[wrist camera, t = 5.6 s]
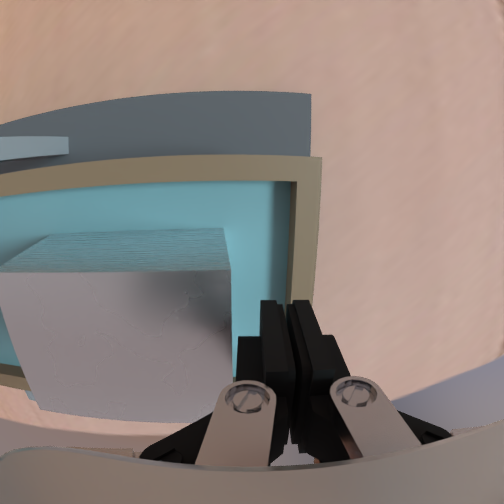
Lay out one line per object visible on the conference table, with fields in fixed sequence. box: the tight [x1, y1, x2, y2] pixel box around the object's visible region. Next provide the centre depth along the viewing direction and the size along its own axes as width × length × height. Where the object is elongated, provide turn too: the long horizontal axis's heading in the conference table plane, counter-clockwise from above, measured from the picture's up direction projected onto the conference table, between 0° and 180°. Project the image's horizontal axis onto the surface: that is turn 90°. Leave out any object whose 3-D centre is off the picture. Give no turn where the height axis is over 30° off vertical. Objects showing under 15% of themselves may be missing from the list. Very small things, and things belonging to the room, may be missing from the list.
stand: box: [0, 91, 311, 401], centre depth 17 cm, size 34×20×9 cm, turn 89°
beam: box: [0, 155, 322, 391], centre depth 13 cm, size 32×12×3 cm, turn 89°
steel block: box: [0, 228, 233, 423], centre depth 11 cm, size 8×6×5 cm
